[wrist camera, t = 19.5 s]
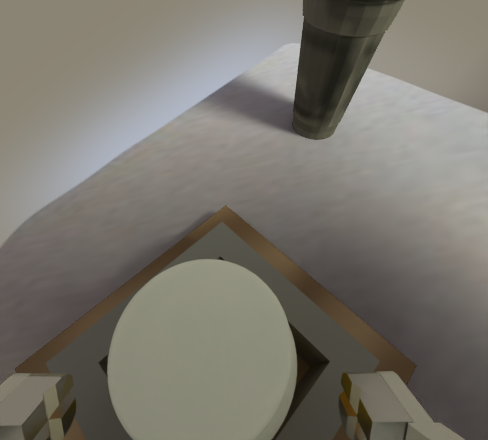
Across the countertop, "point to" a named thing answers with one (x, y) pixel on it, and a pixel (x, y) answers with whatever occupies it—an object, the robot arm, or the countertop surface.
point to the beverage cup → (335, 58)
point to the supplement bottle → (202, 356)
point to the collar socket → (296, 310)
